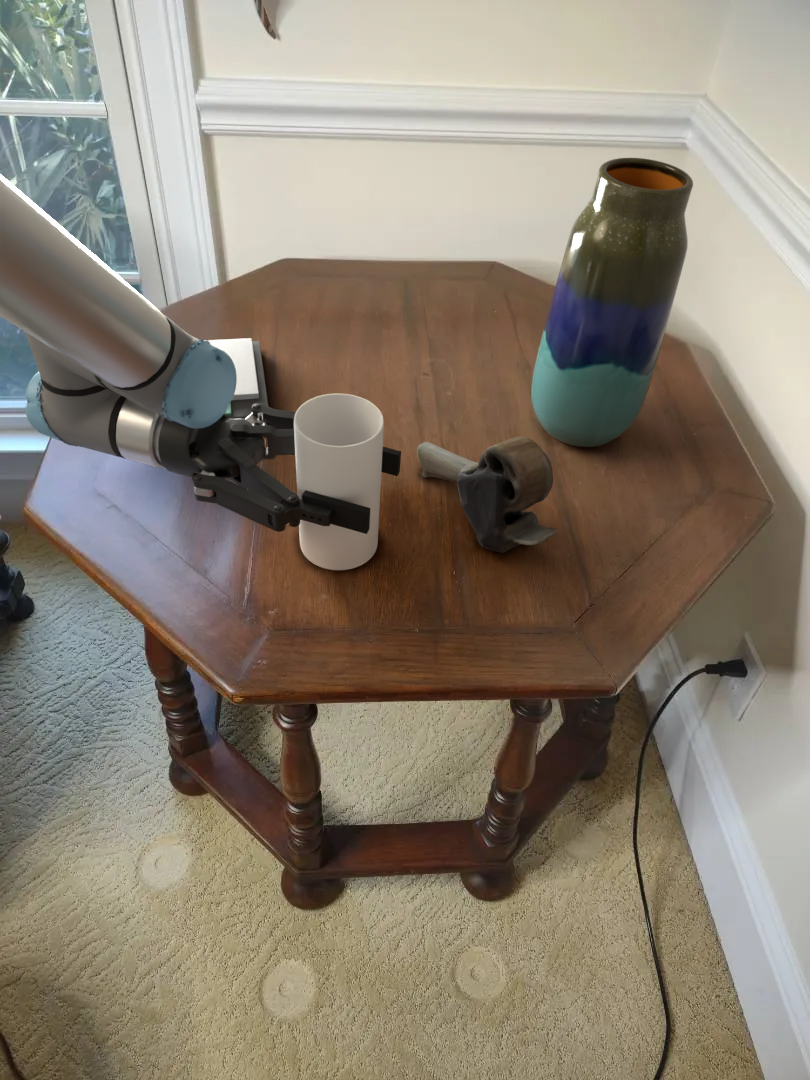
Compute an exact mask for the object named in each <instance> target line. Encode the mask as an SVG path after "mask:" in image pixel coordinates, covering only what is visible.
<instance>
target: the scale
mask: <svg viewBox="0 0 810 1080" xmlns="http://www.w3.org/2000/svg"><path fill="white" fill-rule="evenodd" d="M205 340H206V339H205ZM206 341H208V342H209V343H210V344H211V345H213V346H215V347H217V348H219V349H221V350H223V351H224V352H226V353H227V354H228V355H229V356H230V358H231V359H232V361H233V363H234V366H235V369H236V375H237V382H236V389H235V393H234V396H233V399H232V400H231V401H230V403H229V405H228V407H227V410H226V412H225V413H224V414H223V415H224V416H225V417H227V418H230V419H239V418H241V419H246V418H247V417H248V416H249V415H251V414H252V405H253V404H256V403H259V404H262V405H265V406H267V407H270V406H269V399H268V393H267V386H266V385H267V384H266V378H265V371H264V362H263V356H262V348H261V342H260V340H253V338H252V337H247V338H229V339H228V338H227V339H208V340H206Z"/></svg>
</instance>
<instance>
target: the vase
mask: <svg viewBox="0 0 810 1080" xmlns="http://www.w3.org/2000/svg"><path fill="white" fill-rule="evenodd" d="M693 188H694V180H693V178H692V177H691V176H690V175H689V174H688V173H687V172H686V171H685V170H684V169H681V168H679V167H677V166H675V165H673V164H669V163H666V162H663V161H661V160H660V161H659V160H655V159H649V158H644V157H643V158H641V157H619V158H613V159H610V160H607V161H605V162H603V163H602V164H601V165H600V167H599V168H598V172H597V177H596V179H595V184H594V188H593V191H592V196H591V197H590V199H589V201H588V202H587V204H585V206H584V208H583V209H582V210H581V211H580V213H579V215H578V216H577V217H576V219H575V220H574V222H573V225H572V226H571V229H570V233H569V236H568V240H567V243H566V247H565V250H564V254H563V257H562V261H561V265H560V269H559V273H558V276H557V279H556V283H555V286H554V290H553V294H552V298H551V302H550V305H549V309H548V312H547V315H546V319H545V324H544V327H543V331H542V335H541V339H540V342H539V345H538V350H537V353H536V358H535V361H534V365H533V370H532V376H531V383H530V400H531V406H532V409H533V412H534V414H535V416H536V419H537V420H538V422H539V424H540V426H541V427H542V428H543V429H544V431H545V432H546V433H547V434H548V435H549V436H550V437H552V438H554V439H555V440H557V441H559V442H561V443H563V444H566V445H569V446H573V447H578V448H595V447H601V446H603V445H605V444H609V443H610V442H612V441H613V440H614V441H615V440H616V439H617V438H619V437H620V436H621V435H623V434H624V433H625V432H626V431H627V430H629V428H631V426H632V425H633V424H634V422H635V421H636V420H637V418H638V417H639V414H640V412H641V410H642V408H643V406H644V403H645V401H646V398H647V395H648V392H649V390H650V386H651V382H652V379H653V376H654V373H655V371H656V370H655V369H656V365H657V363H658V359H659V355H660V352H661V348H662V344H663V341H664V337H665V333H666V331H667V326H668V323H669V319H670V315H671V312H672V308H673V304H674V302H675V297H676V294H677V289H678V286H679V283H680V280H681V276H682V271H683V268H684V265H685V260H686V257H687V252H688V242H689V241H688V239H689V238H688V231H687V224H686V211H687V207H688V205H689V200H690V197H691V194H692V190H693Z"/></svg>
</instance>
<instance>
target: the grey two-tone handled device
mask: <svg viewBox="0 0 810 1080" xmlns="http://www.w3.org/2000/svg"><path fill="white" fill-rule="evenodd" d="M416 455H417V459H418V461H419V464H420V468H421V470H422V477H424V478H438V479H441V480H446V481H450V482H454V483H456V485H457V489H458V495H459V496H458V497H459V500H460V506H461V508H462V510H463V513H464V514H465V517H466V518H467V520H468V521H469V524H470V525H471V527H472V528H473V531H474V533H475V535H476V539H477V543H479V545H480V546H481V547H482V548H485V549H486V550H488V551H492V552H497V553H500V554H504V553H506V552H508V551H510V550H512V549H515V548H516V547H518V546H520V545H523V546H528V547H529V546H530V547H531V546H538V545H540V544H541V543H545V542H546V541H547V540H549V539H551V538H553V537H554V536H555V535H557V533H558V530H557V528H555V527H551V526H550V527H549V526H548V527H547V526H544V525H540V524H539V519H538V516H537V514H536V513H535V512H534V511H532V510H531V511H527V509H529V508H531V507H533V506H534V505H536V504H537V503H541V502H543V501H545V499H546V498H547V497H548V496H549V494H550V492H551V491H552V488H553V484H554V475H553V474H554V473H553V467H552V463H551V460H550V459H549V457H548V454H546V453H545V451H544V450H543V449H542V448H541V447H540V445H539V444H538V443H536V442H535V440H533V439H531V438H529V437H525V436H522V435H521V436H520V435H519V436H514V437H511V438H509V439H506V440H504V441H500V442H497V443H495V444H493V445H491V446H489V447H487V448H486V449H484V451H483V452H482V454H481V455H480V457H479V461H478V462H476V461H472V460H470V459H468V458H466V457H463V456H461V455H458V454H456V453H454V452H452V451H449V450H447V449H446V448H443V447H440V446H438V445H436V444H434V443H431V442H429V441H424V442H422V443H420V444H418V447H417V449H416ZM525 510H526V511H525Z"/></svg>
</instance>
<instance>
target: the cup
mask: <svg viewBox="0 0 810 1080" xmlns="http://www.w3.org/2000/svg"><path fill="white" fill-rule="evenodd" d="M295 412H296V413H295V416H294V439H295V455H294V456H295V476H296V494H297V495H298V496H299V499H301V500H302V494H303V492H304V491H305V490H307V491H310V492H314V493H318V494H321V495H325V496H329V497H332V498H336V499H339V500H343V501H347V502H350V503H354V504H358V505H361V506H365V507H368V508H370V529H369V531H368V533H367V534H365V533H361V532H357V531H354V530H350V529H347V528H343V527H340V526H336V525H333V524H330V526H321V525H318V524H314V523H310V522H307V521H303V520H300V525H298V533H299V536H298V537H299V547H300V550H301V552H302V554H303V556H304V557H305V558H306V560H308V562H310V563H312V564H314V565H315V566H318V567H319V568H322V569H325V570H331V571H347V570H352V569H355V568H358V567H360V566H362V565H364V564H366V563H368V562H369V561H370V560H371V559H372V558H373V556H374V555H375V554H376V552H377V548H378V544H379V543H378V542H379V527H380V526H379V525H380V523H379V522H380V509H381V508H380V506H381V485H382V472H381V469H382V449H383V447H384V429H385V428H384V427H385V426H384V425H385V423H384V416H383V413H382V411H381V410H380V409H379V408H378V407H377V405H375V404H374V402H371V401H370V400H369V399H366V398H363V397H362V396H358V395H355V394H350V393H349V394H348V393H325V394H321V395H317V396H315V397H312V398H310V399H307V400H306V401H305V402H303V403H302V404H301V405H299V407H298V408H297V410H296V411H295Z"/></svg>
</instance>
